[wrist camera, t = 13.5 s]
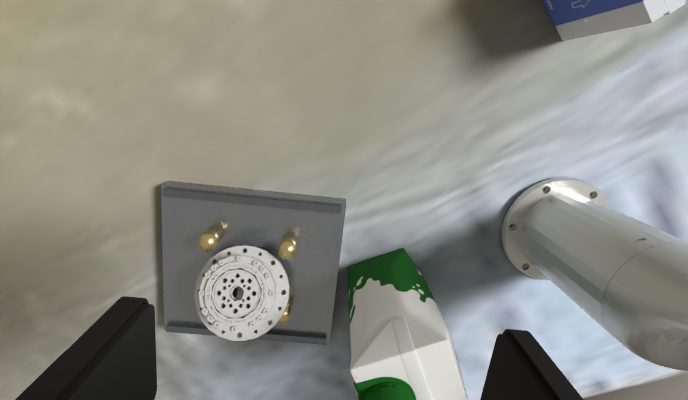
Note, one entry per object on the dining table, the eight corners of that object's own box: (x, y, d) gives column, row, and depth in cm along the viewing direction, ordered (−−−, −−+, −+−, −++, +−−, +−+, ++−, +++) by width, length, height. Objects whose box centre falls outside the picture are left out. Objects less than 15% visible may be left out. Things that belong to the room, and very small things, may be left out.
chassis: (345, 198, 44) (346, 212, 39) (329, 333, 49) (329, 359, 44) (168, 181, 43) (147, 192, 38) (171, 319, 48) (152, 345, 43)
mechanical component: (308, 292, 43) (248, 228, 44) (307, 293, 38) (241, 222, 39) (240, 359, 41) (179, 290, 42) (231, 368, 36) (163, 292, 37)
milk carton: (338, 262, 46) (340, 387, 27) (409, 238, 45) (464, 348, 26) (361, 321, 48) (379, 474, 29) (429, 299, 48) (493, 441, 29)
